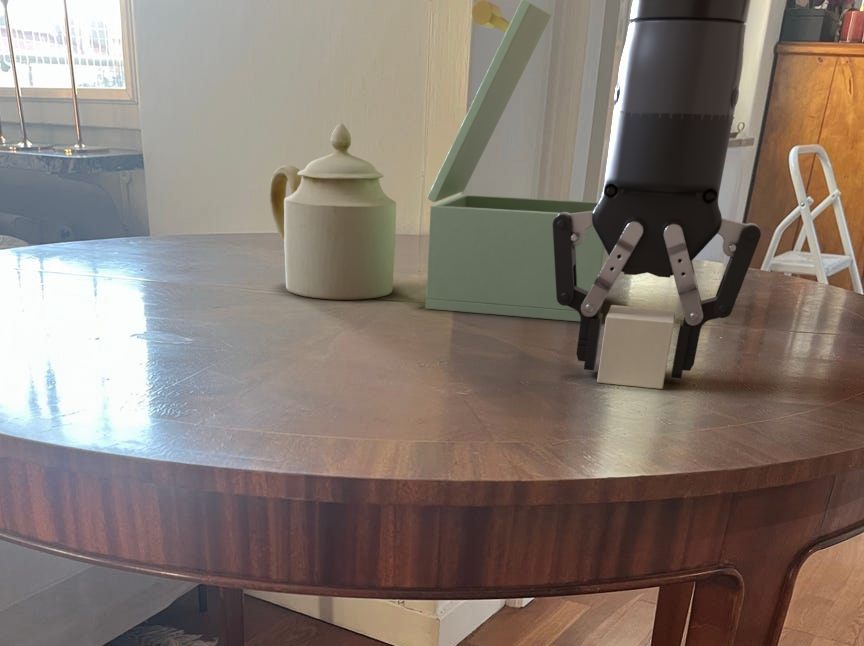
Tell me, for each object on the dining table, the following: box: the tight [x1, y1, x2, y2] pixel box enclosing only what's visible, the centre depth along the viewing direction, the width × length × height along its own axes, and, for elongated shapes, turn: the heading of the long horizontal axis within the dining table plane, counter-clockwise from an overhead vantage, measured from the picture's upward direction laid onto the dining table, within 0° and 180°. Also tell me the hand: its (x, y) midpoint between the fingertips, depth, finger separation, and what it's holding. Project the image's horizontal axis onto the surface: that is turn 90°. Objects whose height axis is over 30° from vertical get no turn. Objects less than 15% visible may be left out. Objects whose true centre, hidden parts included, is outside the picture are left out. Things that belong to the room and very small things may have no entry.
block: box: [596, 304, 676, 390], centre depth 69 cm, size 5×5×5 cm
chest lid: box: [426, 0, 552, 203], centre depth 86 cm, size 17×13×5 cm
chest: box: [425, 193, 609, 323], centre depth 91 cm, size 16×13×9 cm
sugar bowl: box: [269, 122, 397, 301], centre depth 94 cm, size 15×11×15 cm
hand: (632, 370), depth 69 cm, fingers open, 5 cm apart
